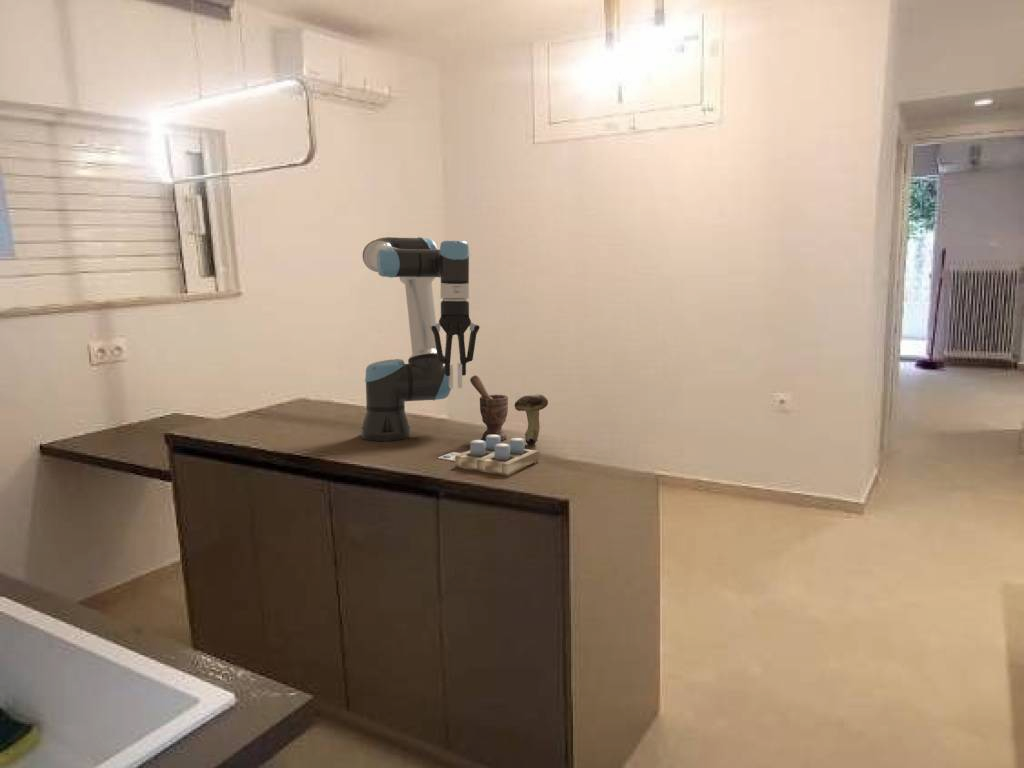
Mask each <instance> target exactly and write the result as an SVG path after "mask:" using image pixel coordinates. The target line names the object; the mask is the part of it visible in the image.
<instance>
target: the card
mask: <svg viewBox="0 0 1024 768" xmlns="http://www.w3.org/2000/svg"><path fill="white" fill-rule="evenodd" d="M462 453H463V452H461V453H460V452H456V451H455V452H454V451H453V452H450V453H449V452H448V453H447V454H444V455H441V456H439V457H437V459H439V460H445V461H450V462H455V456H456V455H459V454H462Z"/></svg>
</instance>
